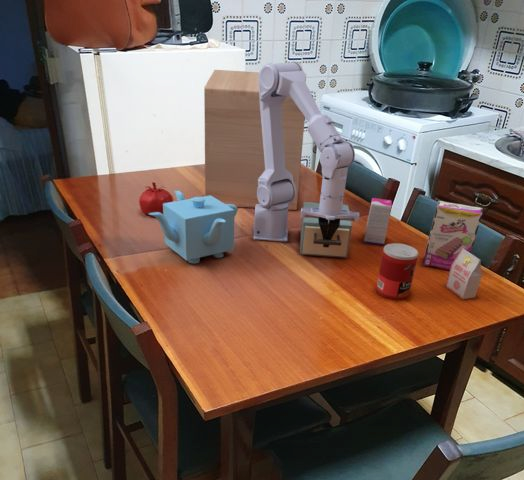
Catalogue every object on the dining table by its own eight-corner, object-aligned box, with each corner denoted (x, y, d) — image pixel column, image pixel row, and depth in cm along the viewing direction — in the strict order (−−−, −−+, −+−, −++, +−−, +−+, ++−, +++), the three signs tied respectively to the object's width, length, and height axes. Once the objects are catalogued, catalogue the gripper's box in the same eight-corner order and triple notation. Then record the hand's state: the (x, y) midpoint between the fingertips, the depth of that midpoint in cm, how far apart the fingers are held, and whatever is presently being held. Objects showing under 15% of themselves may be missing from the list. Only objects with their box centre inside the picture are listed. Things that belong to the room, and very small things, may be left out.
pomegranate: (164, 221, 161) (162, 190, 155) (134, 215, 163) (131, 184, 158) (179, 210, 169) (178, 180, 163) (149, 205, 171) (147, 175, 166)
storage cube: (296, 210, 174) (307, 93, 154) (205, 205, 173) (204, 87, 153) (292, 177, 202) (301, 74, 182) (214, 173, 201) (214, 69, 182)
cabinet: (347, 258, 146) (352, 225, 141) (300, 254, 146) (303, 222, 141) (343, 235, 159) (347, 204, 154) (300, 232, 159) (303, 201, 154)
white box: (457, 284, 137) (468, 247, 131) (475, 297, 132) (487, 259, 126) (445, 286, 136) (455, 248, 130) (462, 299, 130) (474, 260, 125)
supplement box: (384, 245, 154) (392, 206, 148) (363, 243, 155) (370, 203, 149) (384, 238, 159) (392, 199, 152) (364, 235, 160) (370, 197, 153)
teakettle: (240, 243, 150) (241, 190, 142) (224, 273, 135) (225, 215, 127) (173, 235, 153) (171, 183, 144) (151, 263, 137) (147, 206, 129)
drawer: (346, 265, 140) (350, 238, 136) (302, 261, 141) (305, 235, 137) (342, 235, 157) (345, 210, 153) (302, 232, 157) (305, 207, 153)
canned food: (402, 303, 127) (412, 260, 121) (370, 293, 130) (378, 250, 124) (413, 291, 132) (423, 249, 126) (382, 281, 136) (390, 240, 130)
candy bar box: (421, 266, 144) (436, 205, 135) (423, 258, 148) (437, 199, 139) (465, 274, 142) (483, 213, 132) (465, 266, 146) (483, 206, 136)
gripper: (302, 197, 130) (297, 250, 138) (363, 201, 130) (355, 254, 138) (302, 188, 136) (298, 239, 144) (361, 192, 136) (353, 243, 144)
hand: (325, 245), depth 141 cm, fingers closed, pressing on drawer
